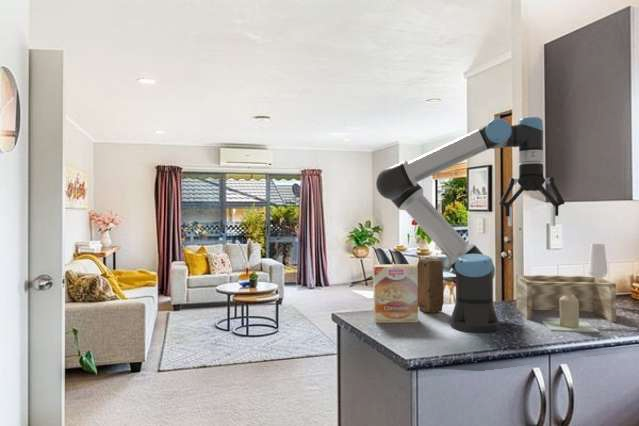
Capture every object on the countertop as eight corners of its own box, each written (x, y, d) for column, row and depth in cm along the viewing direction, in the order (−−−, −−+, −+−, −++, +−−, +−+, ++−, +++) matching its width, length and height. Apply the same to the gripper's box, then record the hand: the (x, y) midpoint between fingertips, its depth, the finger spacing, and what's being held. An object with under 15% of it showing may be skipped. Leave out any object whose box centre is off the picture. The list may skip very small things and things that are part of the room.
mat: (550, 330, 150) (550, 329, 150) (541, 322, 161) (541, 320, 161) (599, 332, 147) (599, 330, 147) (587, 323, 158) (587, 322, 158)
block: (445, 313, 176) (445, 259, 176) (427, 314, 174) (426, 260, 174) (431, 307, 187) (430, 256, 186) (413, 308, 185) (413, 257, 184)
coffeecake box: (375, 323, 163) (374, 266, 163) (373, 318, 170) (372, 264, 170) (418, 322, 163) (418, 266, 162) (415, 317, 170) (414, 263, 169)
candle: (556, 323, 157) (556, 293, 157) (573, 323, 157) (573, 293, 156) (564, 327, 151) (564, 296, 151) (582, 327, 151) (581, 296, 151)
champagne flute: (585, 304, 189) (585, 244, 188) (591, 301, 193) (590, 243, 193) (604, 306, 184) (604, 244, 184) (609, 303, 189) (609, 243, 188)
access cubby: (527, 319, 165) (526, 282, 165) (516, 308, 183) (516, 274, 182) (615, 322, 159) (615, 283, 159) (596, 310, 177) (596, 276, 177)
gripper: (494, 163, 160) (494, 226, 160) (574, 161, 155) (574, 226, 155) (490, 165, 167) (491, 225, 168) (567, 163, 162) (567, 225, 163)
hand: (531, 226), depth 161 cm, fingers open, 13 cm apart
